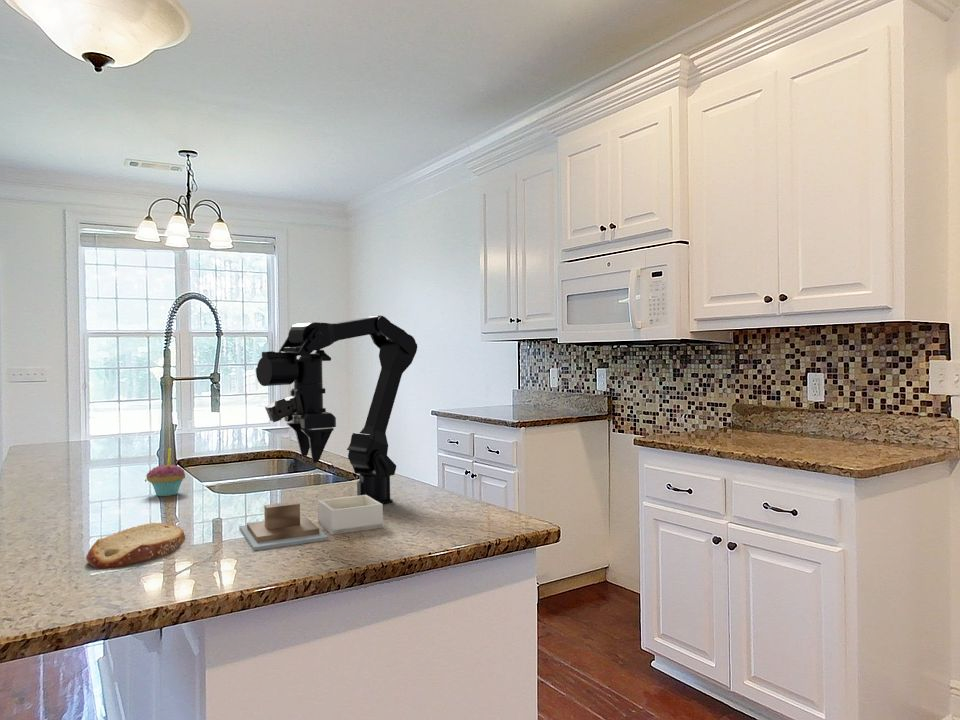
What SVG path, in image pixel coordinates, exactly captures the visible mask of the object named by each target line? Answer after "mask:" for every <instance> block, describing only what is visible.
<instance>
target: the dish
mask: <svg viewBox="0 0 960 720" xmlns="http://www.w3.org/2000/svg"><path fill="white" fill-rule="evenodd" d="M383 504H384V503H382V504H381V503H380V502H378V501H376V500H374V499H373V498H371V497H369V496H367V495H360V496H357V495H353V496H343V497H334V498H327V499H318V500H317V523H318V524H319V525H320V526H321V527H322V528H324V529H325V530H326V532H328V533H329V534H330V535H332V536H333V535H341V534H347V533H354V532H355V533H356V532H360V531H369V530H377V529H383V528H384V509H383V508H384V505H383Z"/></svg>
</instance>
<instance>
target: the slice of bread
mask: <svg viewBox="0 0 960 720" xmlns="http://www.w3.org/2000/svg"><path fill="white" fill-rule="evenodd" d="M185 540H186V534H185V532H184V528H183V529H182V528H181V527H180V526H178V525H174V524H171V523H170V524H169V523H163V522H150V523H145V524H141V525H140V524H139V525H137V526H133V527H130V528H126V529H123V530H121V531H117V533H115V532H114V533H113V534H109V535H108V536H105V537H103V538H98V539H97V540H96V541H95V542H94V544H93V545H92V546H91V547H90V549H89V550H88V552H87V554H86V561H87V562H88V564H89V565H90V566H91V567H93V568H94V569H96V570H108V569H109V568H110V569H119V568H124V567H128V566H131V565H135V564H139V563H144V562H149V561H151V560H155V559H158V558H160V557H163V556H165V555H167V554H170V553H171V552H173V551H174V550H177V549H178V548H179V546H181V545H183V543H184V542H185Z"/></svg>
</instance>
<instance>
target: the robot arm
mask: <svg viewBox="0 0 960 720" xmlns="http://www.w3.org/2000/svg"><path fill="white" fill-rule="evenodd" d="M368 335H369V336H370V338H371V340H372V343H373V344H374V345H375V346H376V347H377V348H378V349H379V353H378V359H379V363H380V364H379V365H380V366H381V367H380V372H379V376H378V379H377V383H376V386H375V389H374V393H373V396H372V398H371V399H372V400H371V404H370V406H369V410H368V412H367V417H366V420H365V424H364V426H363V428H362V429H361V431H360V432H353V433H352V435H351V438H350V443H349V445H348V447H347V449H346V450H347V451H348V454H347V458H348V460H349V462H350V465H351V466H352V468H353V471H354V474H356V475H358V474H359V476H358V481H357V482H356V490H357V491H356V496H360V495H367V496H369V497H371V498H373V499H374V500H376V501H378V502H380V503H381V504H388V503H393V502H394V499H392V498H391V476H395V475H396V474H395V473H396V470H397V465H396V463H394V461H393V460H392V459H391V458H390V457H389V456H388V450H389V442H388V439H387V438H388V437H387V433H386V431H387V429H388V425H389V421H390V418H391V415H392V411H393V408H394V403H395V400H396V397H397V393H398V389H399V387H400V383H401V380H402V376H403V373H404V372H405V371H406V370H407V369H409V367H410V366H411V364H412V363H413V361H414V358H415V356H416V354H417V351H418V343H417V342H416V340H415V339H416V338H415V337H414V336H412V334H408V333H407V332H406V330H405V329H402V328H401V327H399V326H397V325H396V324H395V323H392V322H391V321H390V320H389V318H387V317H386V316H384V315H369V316H367V317H364V318H358V319H351V320H345V321H340V322H339V321H338V322H333V323H332V322H331V323H329V322H303V323H302V322H300V323H295V324H292V325H291V327H290V329H289V331H288V336H287V338H286V339H285V341H284V342H283V344H282V346H281V347H280V348H279V350H278V352H277V351H273V350H272V351H269V350H268V351H266V350H265V351H263V350H262V352H261V357H260V359H259V360H258V363H257V367H256V368H255V374H256V379H257V382H258V383H259V384H260V385H261V386H263V387H272V386H274V387H275V386H288V385H292V384H293V388H292V389H290V394H289V395H290V396H287V397H285V398H283V397H281V398H280V399H277V400H276V399H275V401H274V402H271V403H270V404H267V405H265V406H264V408H265V411H266V413H267V416H268V419H269V421H270V422H271V421H272V423H277V422H279V421H281V420H282V419H284V421H285V422H287V423H286V425H287V426H288V427H290V428H291V429H292V430H293V431H294V433H295V437H296V440H297V444H298V447H299V451H300V454H301V456H302V457H306V456H308V455H309V451H310V455H311V460H312V463H319V462H320V459H321V457H322V455H323V452H324V450H325V447H326V446H327V443H328V441H329V439H330V436H331V434H332V433H333V431H334V428H336V427H337V421H336V420H337V417H336V416H335V415H334V414H333V413H332V412H328V411H327V410H326V409H327V408H325V407H324V394H326V387H325V388H324V384H323V362H331V360H332V357H331V356H329V355H328V354H327V353H326V351H325V350H324V349H325V348H327V347H329V346H332V345H333V344H334V343H335V342H338V341H341V340H346V339H347V340H348V339H352V338H358V337H363V336H364V337H365V336H368ZM314 351H315V352H314ZM313 352H314V353H313ZM297 357H298V358H297Z"/></svg>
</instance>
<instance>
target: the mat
mask: <svg viewBox="0 0 960 720" xmlns="http://www.w3.org/2000/svg"><path fill="white" fill-rule="evenodd" d="M238 527H239V531H240V532H241V534H242V535H243V537H244V538H245V540H246V541H247V543H248V545H250V547H251V549H252V550H253V552H254V551H261V550H267V549H273V548H274V549H275V548H282V547H289V546H296V545H302V544H303V545H304V544H309V543H316V542H322V541H329V535H327V534H326V533H325V532H324V531H323V530H321V529H320V528H319V534H316V535H309V536H302V537H294V538H287V539H280V540H273V541H266V542H258V543H257V542H256V540H255V539H254V537H253V536H252V535H251V533H250V532H249V530H248V529H247V524H246V525H239V526H238Z"/></svg>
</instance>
